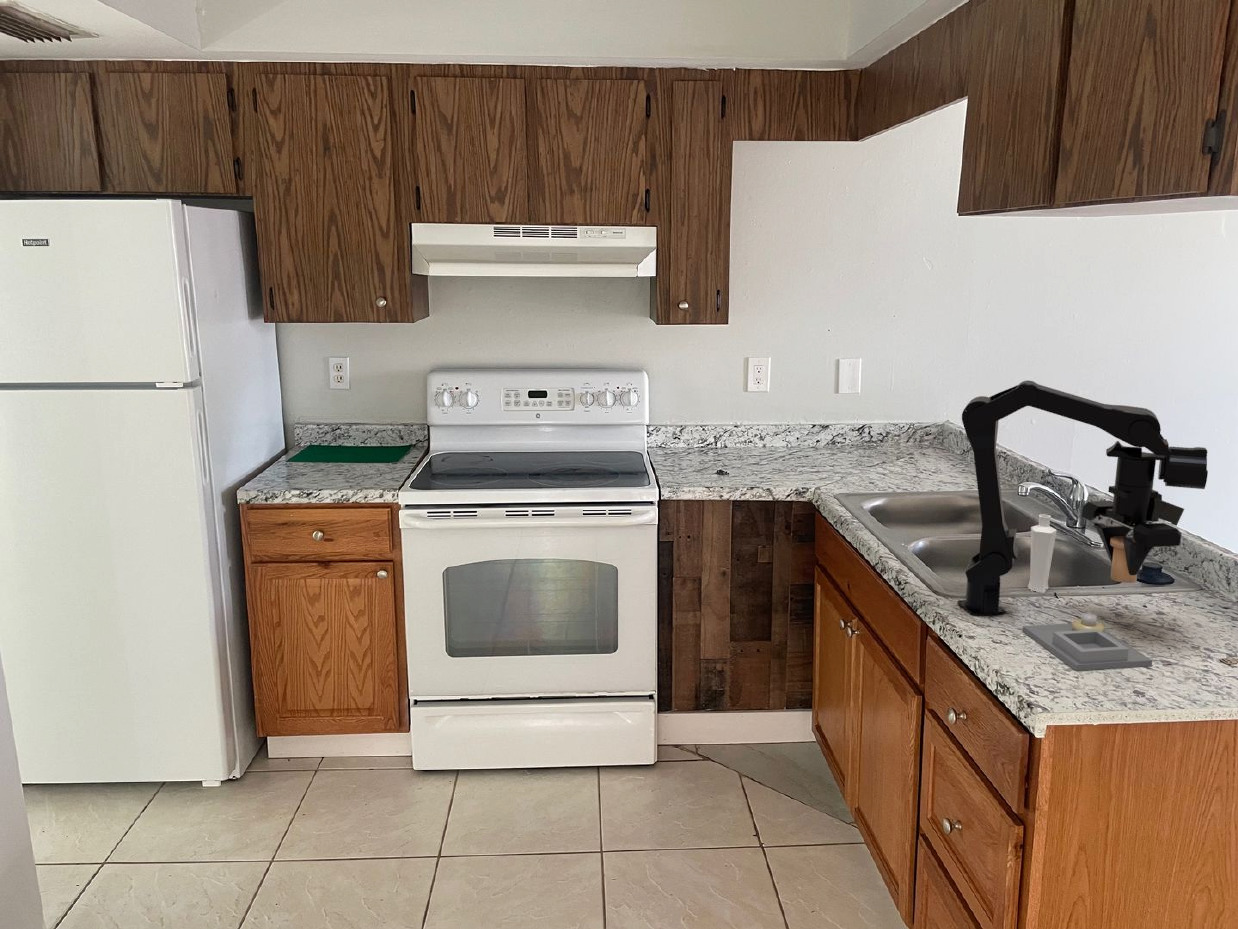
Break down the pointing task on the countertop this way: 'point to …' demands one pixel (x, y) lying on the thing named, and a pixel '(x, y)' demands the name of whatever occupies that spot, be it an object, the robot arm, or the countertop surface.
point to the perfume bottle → (1041, 553)
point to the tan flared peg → (1120, 561)
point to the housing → (1086, 645)
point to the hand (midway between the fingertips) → (1124, 570)
